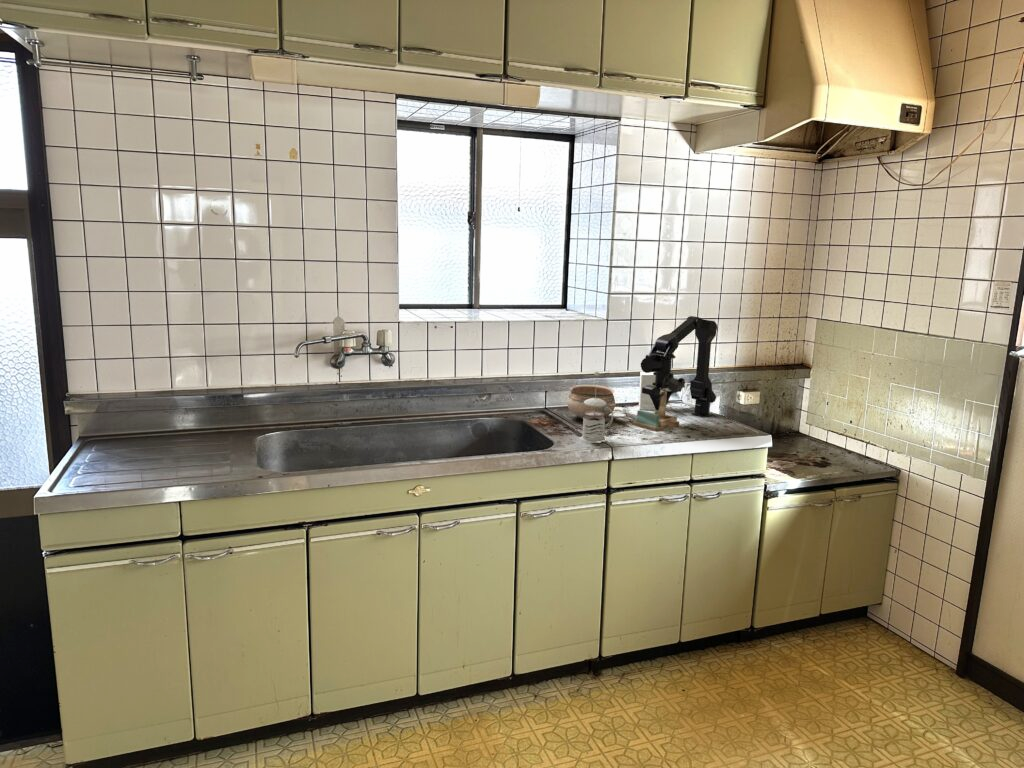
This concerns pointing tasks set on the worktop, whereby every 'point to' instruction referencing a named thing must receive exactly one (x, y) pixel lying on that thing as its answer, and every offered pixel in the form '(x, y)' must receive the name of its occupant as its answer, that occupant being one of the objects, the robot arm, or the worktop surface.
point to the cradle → (654, 421)
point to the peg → (662, 405)
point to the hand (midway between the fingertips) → (660, 409)
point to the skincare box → (645, 399)
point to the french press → (594, 434)
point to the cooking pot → (587, 392)
